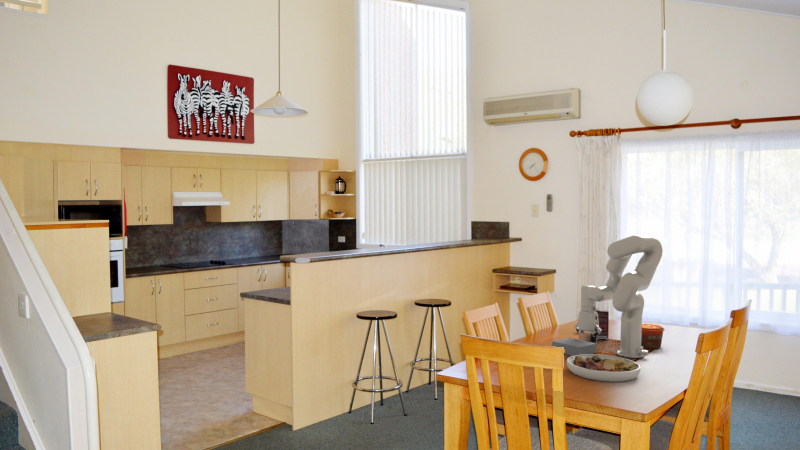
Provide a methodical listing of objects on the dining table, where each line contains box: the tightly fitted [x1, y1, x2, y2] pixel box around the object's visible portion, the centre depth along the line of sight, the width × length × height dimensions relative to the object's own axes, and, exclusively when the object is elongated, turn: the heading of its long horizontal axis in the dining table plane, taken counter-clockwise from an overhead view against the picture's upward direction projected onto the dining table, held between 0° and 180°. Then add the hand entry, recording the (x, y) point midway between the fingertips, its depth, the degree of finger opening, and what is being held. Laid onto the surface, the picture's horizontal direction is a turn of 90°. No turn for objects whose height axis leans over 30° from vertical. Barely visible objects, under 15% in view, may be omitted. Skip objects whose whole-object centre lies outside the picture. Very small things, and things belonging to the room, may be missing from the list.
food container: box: [641, 323, 665, 350], centre depth 305 cm, size 16×16×11 cm
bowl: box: [566, 353, 641, 383], centre depth 251 cm, size 30×30×8 cm
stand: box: [551, 337, 597, 357], centre depth 288 cm, size 16×14×5 cm
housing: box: [578, 331, 598, 344], centre depth 303 cm, size 6×6×7 cm
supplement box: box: [596, 309, 610, 341], centre depth 321 cm, size 9×5×16 cm, turn 84°
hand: (587, 342), depth 303 cm, fingers closed on housing, 6 cm apart
